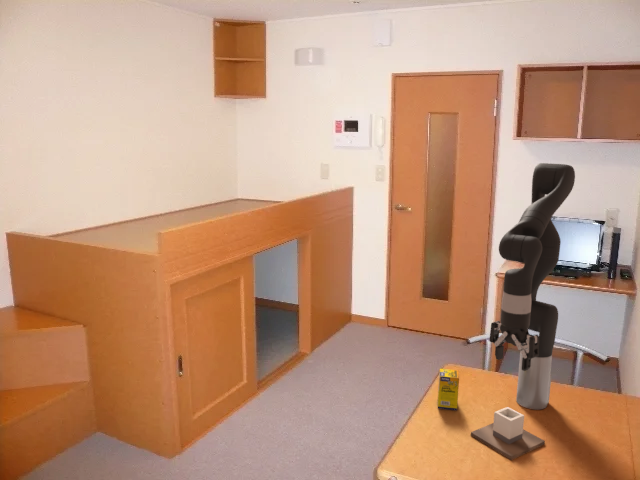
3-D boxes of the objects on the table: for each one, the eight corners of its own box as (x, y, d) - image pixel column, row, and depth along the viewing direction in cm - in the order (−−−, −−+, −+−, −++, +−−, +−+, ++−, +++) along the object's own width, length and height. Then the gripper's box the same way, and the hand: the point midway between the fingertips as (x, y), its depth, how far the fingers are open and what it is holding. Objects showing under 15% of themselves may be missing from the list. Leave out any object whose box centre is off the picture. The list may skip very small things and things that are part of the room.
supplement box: (457, 411, 171) (459, 378, 169) (437, 409, 172) (439, 376, 170) (456, 401, 177) (458, 369, 175) (437, 400, 178) (439, 368, 176)
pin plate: (503, 421, 165) (505, 401, 164) (544, 444, 154) (546, 422, 152) (470, 435, 158) (472, 414, 157) (511, 460, 146) (513, 437, 145)
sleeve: (505, 429, 159) (507, 406, 158) (522, 438, 155) (524, 415, 153) (492, 434, 156) (494, 412, 155) (509, 444, 152) (511, 420, 150)
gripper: (548, 313, 146) (543, 370, 149) (503, 298, 157) (499, 352, 161) (529, 318, 142) (525, 377, 145) (485, 303, 153) (482, 358, 157)
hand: (511, 364), depth 153 cm, fingers open, 8 cm apart
